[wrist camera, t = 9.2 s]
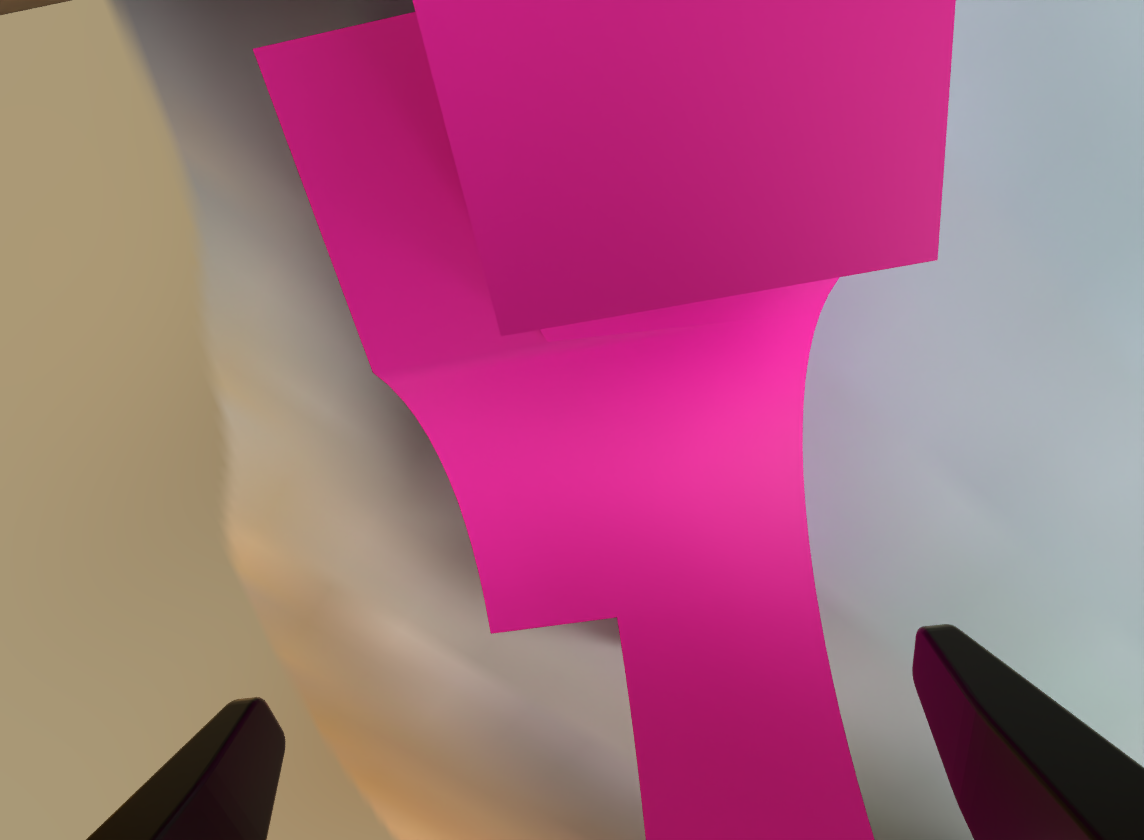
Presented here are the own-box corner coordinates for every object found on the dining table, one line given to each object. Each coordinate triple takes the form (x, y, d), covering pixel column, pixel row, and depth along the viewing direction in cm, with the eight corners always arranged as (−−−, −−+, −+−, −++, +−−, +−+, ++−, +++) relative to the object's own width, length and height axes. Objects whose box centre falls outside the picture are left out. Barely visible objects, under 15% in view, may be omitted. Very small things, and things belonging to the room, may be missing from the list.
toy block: (362, 37, 12) (87, 64, 5) (739, -47, 11) (965, -141, 4) (547, 654, 19) (529, 985, 12) (779, 625, 18) (888, 959, 12)
